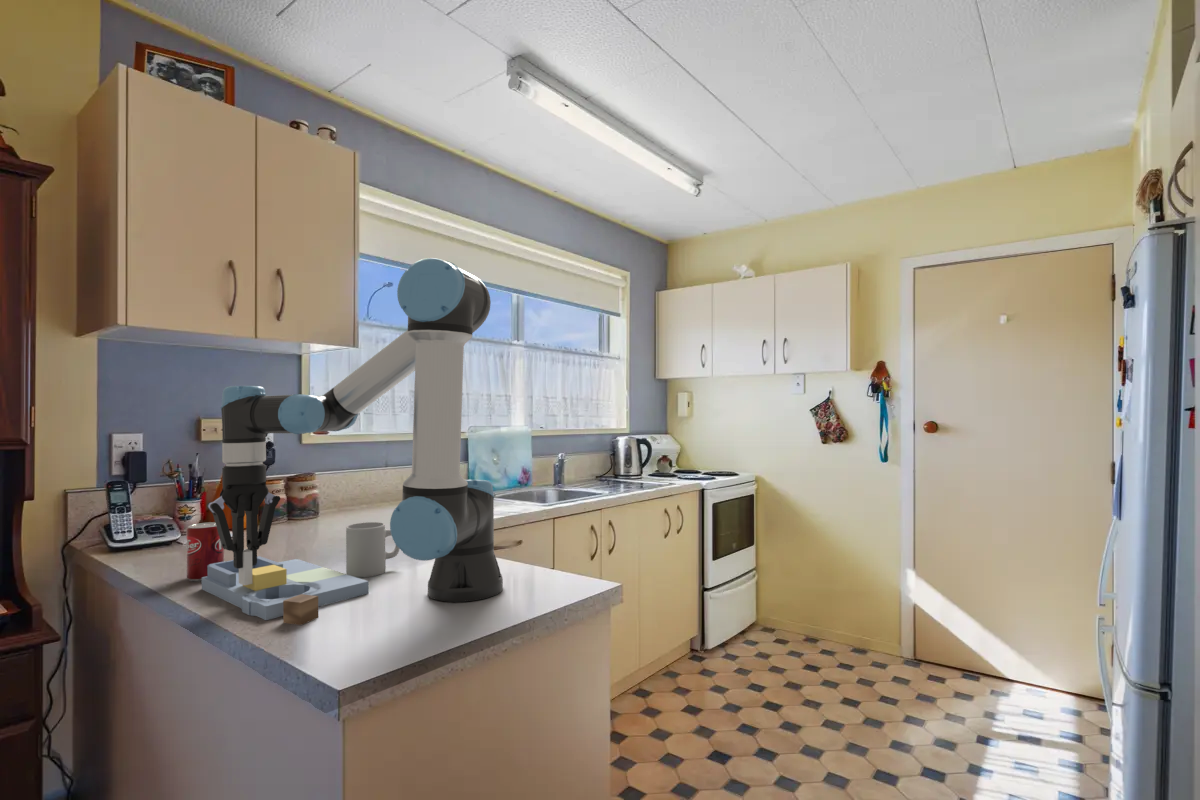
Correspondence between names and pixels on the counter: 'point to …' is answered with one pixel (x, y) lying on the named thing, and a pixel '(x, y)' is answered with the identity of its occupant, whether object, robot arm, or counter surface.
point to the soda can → (202, 549)
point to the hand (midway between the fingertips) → (245, 583)
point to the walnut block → (300, 609)
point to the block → (267, 577)
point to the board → (281, 586)
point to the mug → (367, 549)
